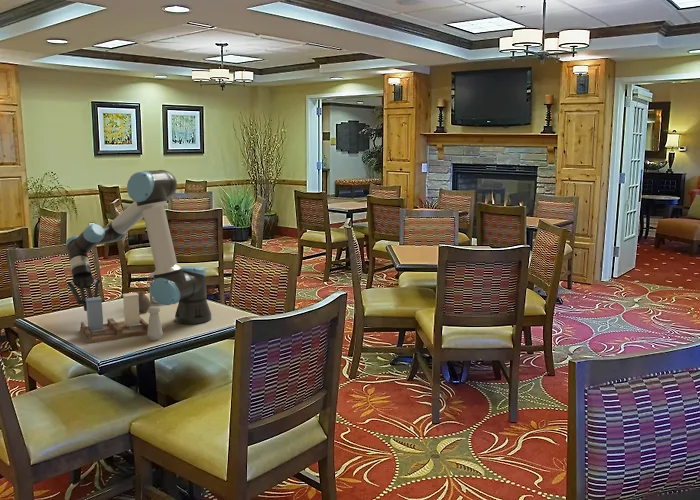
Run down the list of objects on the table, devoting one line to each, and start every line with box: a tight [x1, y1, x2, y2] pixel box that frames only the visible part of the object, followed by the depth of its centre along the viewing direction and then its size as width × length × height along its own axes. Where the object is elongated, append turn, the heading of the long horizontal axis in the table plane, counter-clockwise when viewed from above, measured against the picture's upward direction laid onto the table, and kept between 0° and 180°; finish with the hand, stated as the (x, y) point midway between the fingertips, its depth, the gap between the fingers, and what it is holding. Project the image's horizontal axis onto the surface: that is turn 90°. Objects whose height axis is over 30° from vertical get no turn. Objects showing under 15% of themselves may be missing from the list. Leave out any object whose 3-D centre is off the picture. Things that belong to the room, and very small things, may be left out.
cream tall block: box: [122, 291, 141, 327], centre depth 252 cm, size 4×5×13 cm
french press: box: [146, 271, 164, 307], centre depth 292 cm, size 10×12×25 cm
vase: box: [137, 291, 150, 314], centre depth 279 cm, size 7×7×9 cm
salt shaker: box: [146, 306, 164, 342], centre depth 240 cm, size 6×6×13 cm
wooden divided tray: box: [80, 315, 149, 344], centre depth 249 cm, size 18×23×4 cm
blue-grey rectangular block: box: [85, 296, 104, 332], centre depth 245 cm, size 4×5×13 cm
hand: (91, 316), depth 252 cm, fingers closed
